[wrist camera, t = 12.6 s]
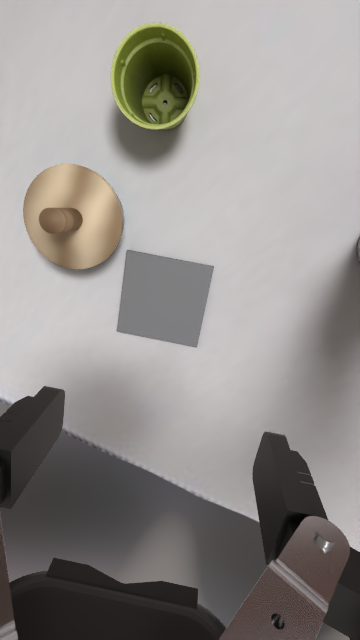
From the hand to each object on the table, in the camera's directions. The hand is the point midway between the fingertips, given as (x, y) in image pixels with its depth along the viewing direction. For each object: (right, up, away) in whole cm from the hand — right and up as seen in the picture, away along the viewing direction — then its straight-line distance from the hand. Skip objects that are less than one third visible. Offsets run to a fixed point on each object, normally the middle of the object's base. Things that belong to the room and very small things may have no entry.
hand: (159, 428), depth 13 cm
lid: (-13, +18, +30) cm, 37 cm away
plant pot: (-1, +32, +30) cm, 44 cm away
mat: (-2, +7, +38) cm, 39 cm away
